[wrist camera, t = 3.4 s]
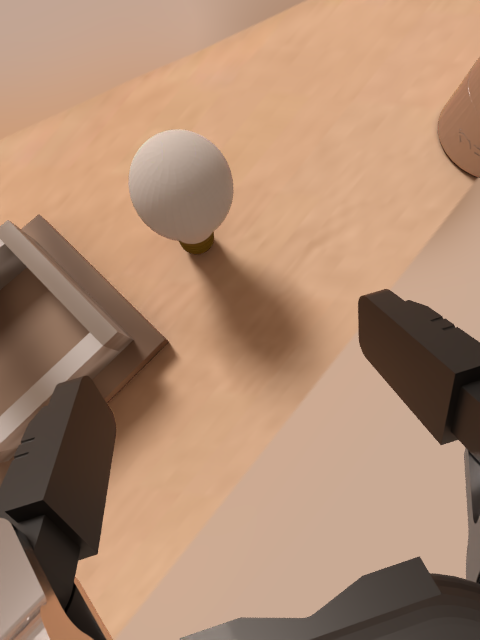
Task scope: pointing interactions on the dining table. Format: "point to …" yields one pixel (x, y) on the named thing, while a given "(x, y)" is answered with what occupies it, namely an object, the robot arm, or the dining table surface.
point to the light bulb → (181, 187)
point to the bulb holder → (59, 328)
